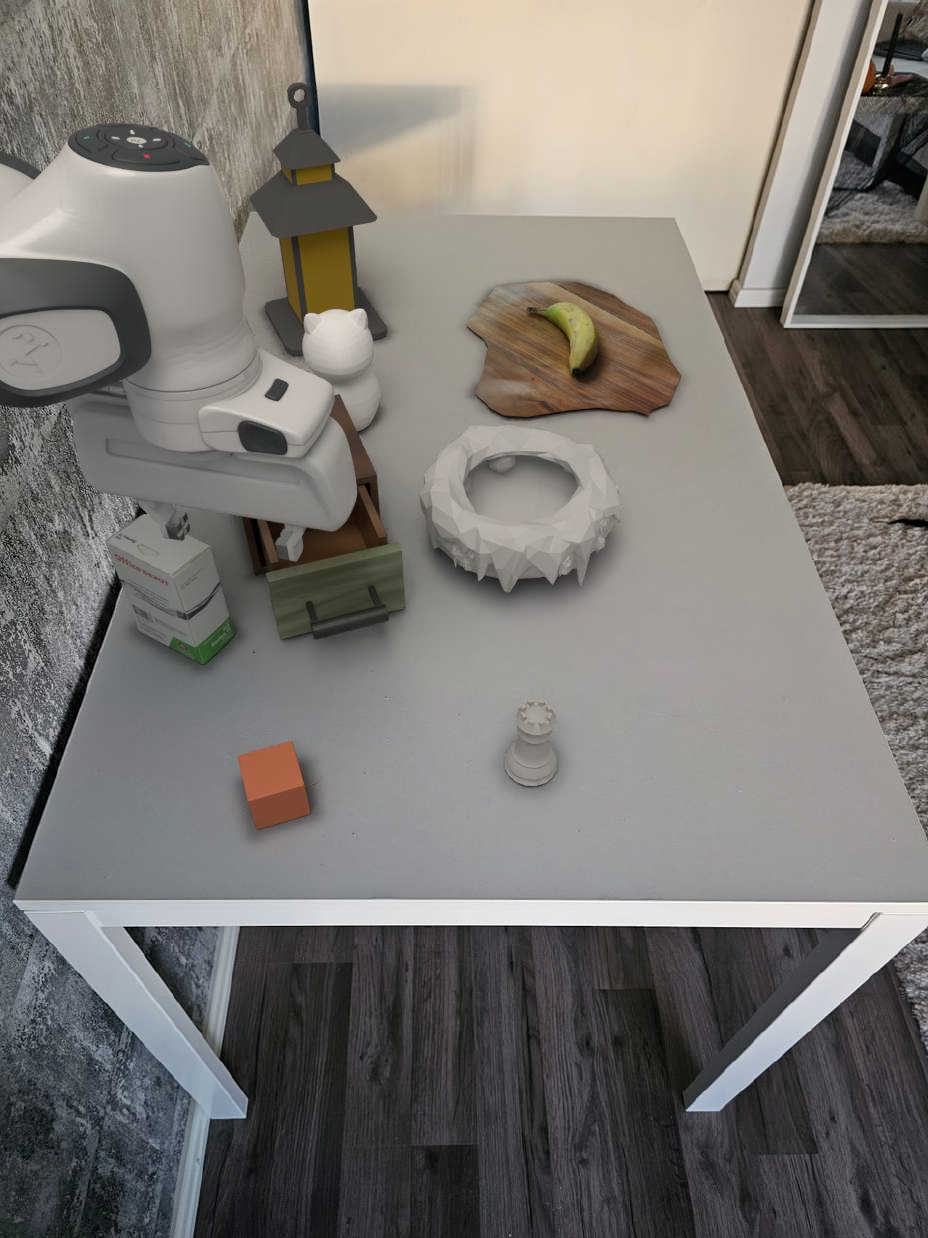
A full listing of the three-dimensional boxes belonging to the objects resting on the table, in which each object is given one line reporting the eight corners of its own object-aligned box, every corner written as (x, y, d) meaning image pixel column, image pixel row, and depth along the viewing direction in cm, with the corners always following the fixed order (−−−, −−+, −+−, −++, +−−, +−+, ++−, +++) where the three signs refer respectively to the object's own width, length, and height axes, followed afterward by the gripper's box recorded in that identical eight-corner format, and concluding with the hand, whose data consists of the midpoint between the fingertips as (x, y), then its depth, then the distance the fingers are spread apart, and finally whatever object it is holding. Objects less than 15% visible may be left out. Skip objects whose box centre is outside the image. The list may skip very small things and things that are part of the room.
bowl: (385, 584, 92) (379, 509, 85) (459, 467, 105) (460, 393, 98) (580, 642, 87) (592, 567, 80) (634, 511, 100) (648, 437, 93)
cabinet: (382, 545, 96) (377, 474, 89) (255, 575, 93) (238, 504, 86) (347, 464, 105) (339, 393, 98) (230, 489, 102) (213, 417, 95)
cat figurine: (312, 448, 107) (296, 334, 96) (304, 389, 116) (288, 277, 104) (387, 440, 109) (380, 326, 97) (374, 382, 117) (366, 270, 106)
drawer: (418, 639, 86) (416, 581, 81) (290, 672, 83) (278, 615, 78) (368, 521, 98) (362, 463, 92) (253, 547, 95) (240, 489, 89)
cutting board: (700, 415, 112) (706, 389, 110) (482, 429, 110) (482, 402, 107) (632, 278, 136) (636, 253, 133) (451, 287, 134) (451, 262, 131)
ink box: (238, 634, 88) (214, 544, 79) (202, 667, 85) (173, 578, 76) (172, 599, 91) (142, 508, 82) (135, 630, 88) (100, 539, 79)
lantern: (263, 308, 129) (223, 72, 107) (357, 289, 133) (337, 58, 111) (290, 358, 120) (253, 112, 98) (390, 336, 124) (376, 95, 102)
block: (256, 830, 74) (247, 801, 70) (246, 785, 76) (237, 755, 73) (311, 814, 75) (304, 784, 71) (299, 770, 77) (292, 740, 74)
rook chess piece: (561, 785, 77) (570, 730, 71) (509, 792, 76) (514, 738, 70) (549, 741, 80) (557, 685, 74) (499, 748, 79) (503, 692, 73)
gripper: (30, 396, 60) (91, 549, 70) (325, 442, 57) (344, 595, 67) (78, 347, 64) (130, 498, 74) (355, 387, 61) (369, 539, 71)
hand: (233, 544), depth 71 cm, fingers open, 8 cm apart
